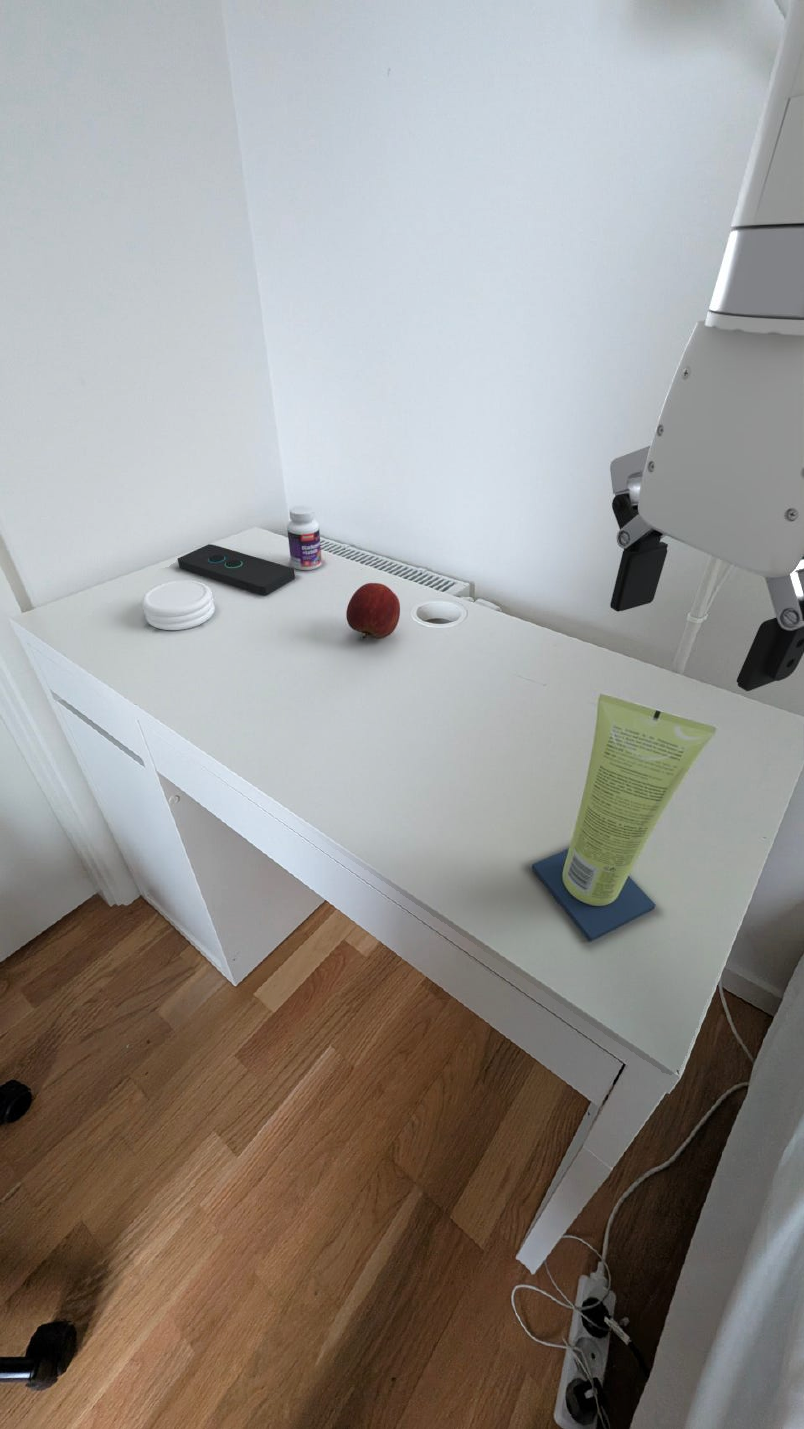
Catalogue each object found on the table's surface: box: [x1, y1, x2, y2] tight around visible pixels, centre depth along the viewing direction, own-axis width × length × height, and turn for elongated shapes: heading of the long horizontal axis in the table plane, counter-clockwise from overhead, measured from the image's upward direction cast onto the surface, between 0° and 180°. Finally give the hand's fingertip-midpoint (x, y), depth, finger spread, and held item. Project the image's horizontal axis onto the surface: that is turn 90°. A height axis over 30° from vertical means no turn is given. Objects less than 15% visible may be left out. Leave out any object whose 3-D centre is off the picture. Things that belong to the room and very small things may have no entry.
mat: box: [531, 848, 656, 943], centre depth 51 cm, size 8×7×1 cm
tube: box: [562, 692, 718, 906], centre depth 44 cm, size 6×5×20 cm
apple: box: [345, 582, 401, 639], centre depth 81 cm, size 7×8×8 cm
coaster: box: [141, 579, 216, 631], centre depth 87 cm, size 10×10×4 cm
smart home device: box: [177, 543, 296, 596], centre depth 99 cm, size 8×2×20 cm
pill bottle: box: [286, 505, 323, 571], centre depth 99 cm, size 5×5×10 cm
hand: (688, 640), depth 35 cm, fingers open, 9 cm apart
